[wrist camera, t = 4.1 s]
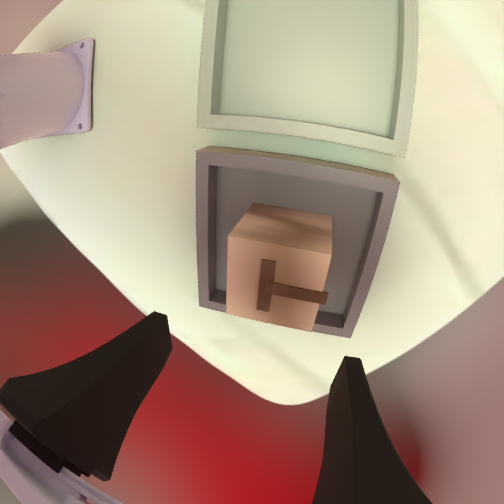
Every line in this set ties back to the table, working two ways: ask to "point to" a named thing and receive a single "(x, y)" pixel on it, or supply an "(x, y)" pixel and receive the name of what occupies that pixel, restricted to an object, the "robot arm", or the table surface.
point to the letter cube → (278, 265)
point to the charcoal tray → (300, 198)
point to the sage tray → (311, 69)
